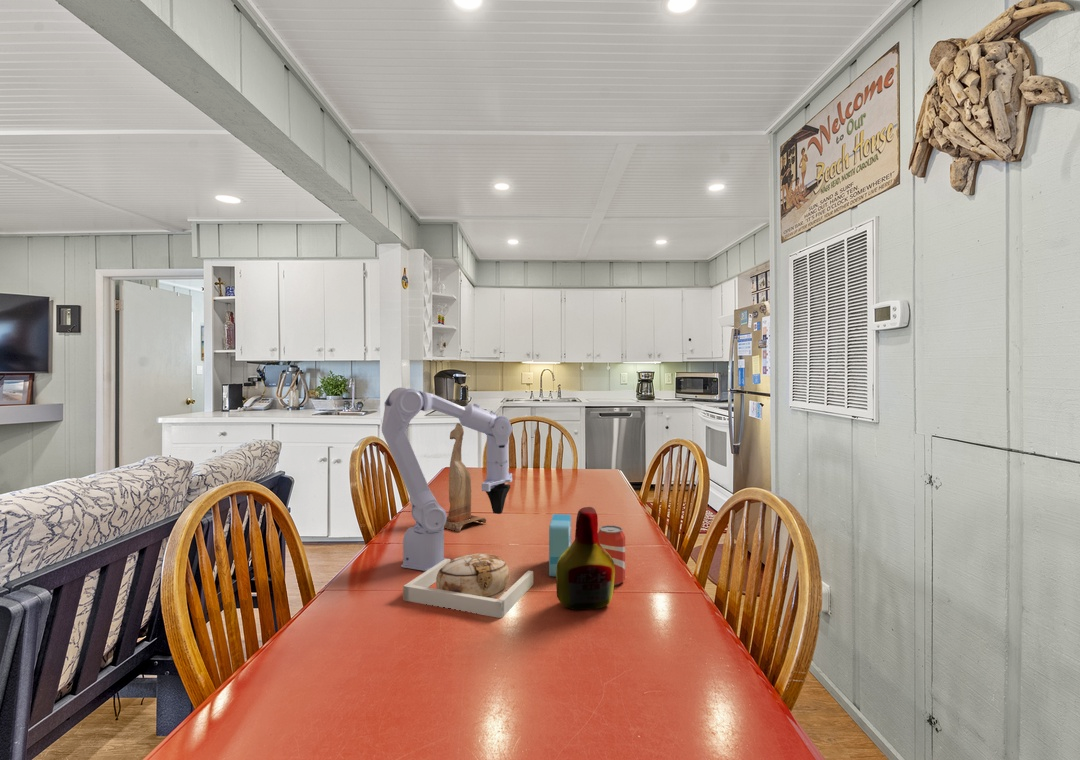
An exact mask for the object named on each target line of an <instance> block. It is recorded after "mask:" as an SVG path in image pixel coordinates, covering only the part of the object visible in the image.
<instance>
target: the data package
mask: <svg viewBox="0 0 1080 760" xmlns="http://www.w3.org/2000/svg"><path fill="white" fill-rule="evenodd" d="M548 528H549V529H548V574H549V577H555V578H556V567H557V562H558V560H559V558H560V557H561V555H562V554H563V553H564V552H565V551H566V550H567V548H568V547H570V546H571V545H572V514H560V513H558V514H557V513H553V514H552V516H551V519H550V524H549V526H548Z"/></svg>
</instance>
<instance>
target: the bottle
mask: <svg viewBox="0 0 1080 760" xmlns="http://www.w3.org/2000/svg"><path fill="white" fill-rule="evenodd" d="M598 518H599V517H598V514H597V510H596V509H595V508H594V507H592V506H586V507H581V508H579V510H578V512H577V515H576V521H575V533H574V534H575V535H574V541H573V542H571V546H570V547H568V548H567V550H566V551H565V552H564V553H563V554H562V555H561V557H560V558H559V560H558V562H557V567H556V577H555V582H556V583H555V587H556V598H557V599H558V601H559V603H561V605H563V606H564V607H566V608H567V609H569V610H593V609H594V610H596V609H603V608H604V607H605V606H608V605H609V604H610V602H611V601H612V598H613V595H614V587H615V585H614V577H615V567H614V561H613V559H612V557H611V556H610V555H609V553H608V552H607V551H606V550H605V549H604V548H603V547H602V546H601V545H600V543H599V539H598V532H599V530H598V527H599V519H598Z"/></svg>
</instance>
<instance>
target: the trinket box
mask: <svg viewBox="0 0 1080 760" xmlns="http://www.w3.org/2000/svg"><path fill="white" fill-rule="evenodd" d="M509 581H510V569H509V566H508V565H507V563H506V561H505V559H503V558H502V557H501V556H498V555H496V554H491V553H471V554H465V555H462V556H458V557H455V558H454V559H451V561H450V562H449V563H447V564H446V565H444V566H443V567H442V568H441V569H440V570H439V572H438V574H437V578H436V582H435V584H436V585H435V586H436V589H441V590H447V591H452V592H458V593H464V594H470V595H476V596H482V597H488V598H494V597H495V598H497V597H499V596H502V595H503V594H504V593H505V592H506V587H507V586H508V584H509ZM496 596H497V597H496ZM495 598H494V599H495Z"/></svg>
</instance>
